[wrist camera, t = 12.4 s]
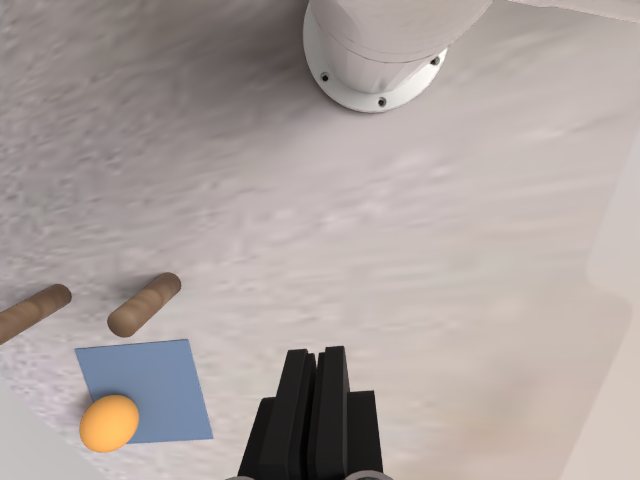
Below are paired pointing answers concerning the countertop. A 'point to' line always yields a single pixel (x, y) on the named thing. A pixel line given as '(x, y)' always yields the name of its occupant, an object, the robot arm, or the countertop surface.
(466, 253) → the countertop surface
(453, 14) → the robot arm
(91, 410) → the ball
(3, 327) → the post
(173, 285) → the post
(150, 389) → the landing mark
